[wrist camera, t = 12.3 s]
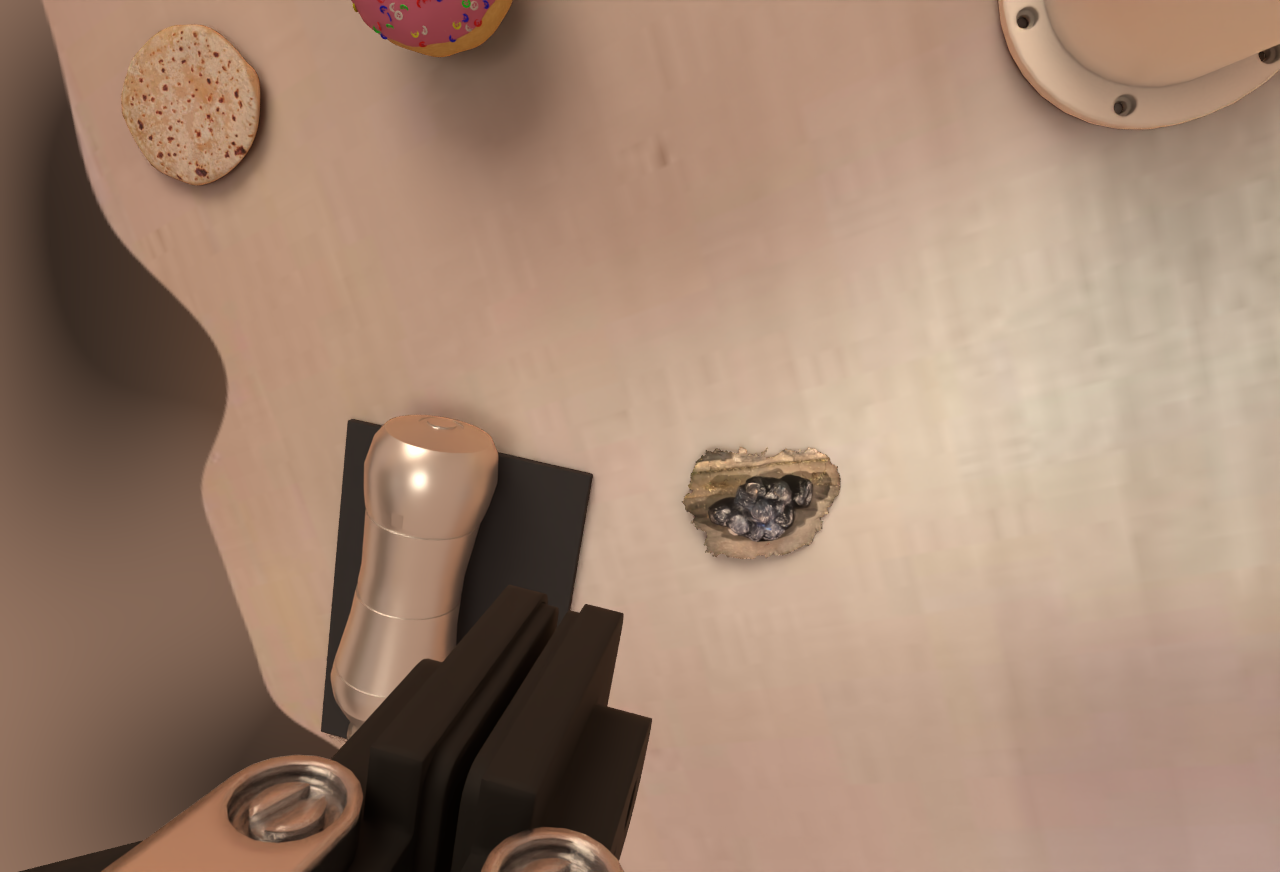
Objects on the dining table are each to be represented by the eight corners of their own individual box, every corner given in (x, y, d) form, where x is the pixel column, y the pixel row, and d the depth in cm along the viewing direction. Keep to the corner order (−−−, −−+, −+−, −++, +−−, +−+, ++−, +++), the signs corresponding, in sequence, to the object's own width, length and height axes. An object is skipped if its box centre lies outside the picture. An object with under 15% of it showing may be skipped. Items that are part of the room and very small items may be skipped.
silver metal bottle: (438, 394, 45) (383, 702, 50) (341, 408, 39) (290, 755, 44) (533, 434, 42) (463, 754, 48) (444, 456, 36) (376, 818, 42)
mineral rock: (666, 465, 43) (660, 475, 41) (809, 403, 41) (809, 411, 39) (721, 577, 44) (717, 592, 42) (863, 522, 42) (866, 535, 40)
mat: (352, 418, 46) (347, 420, 45) (593, 473, 44) (590, 476, 43) (324, 727, 51) (320, 731, 50) (539, 788, 49) (537, 794, 48)
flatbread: (180, 209, 45) (167, 208, 44) (107, 78, 44) (92, 75, 43) (294, 134, 43) (283, 131, 42) (220, -5, 42) (206, -11, 41)
